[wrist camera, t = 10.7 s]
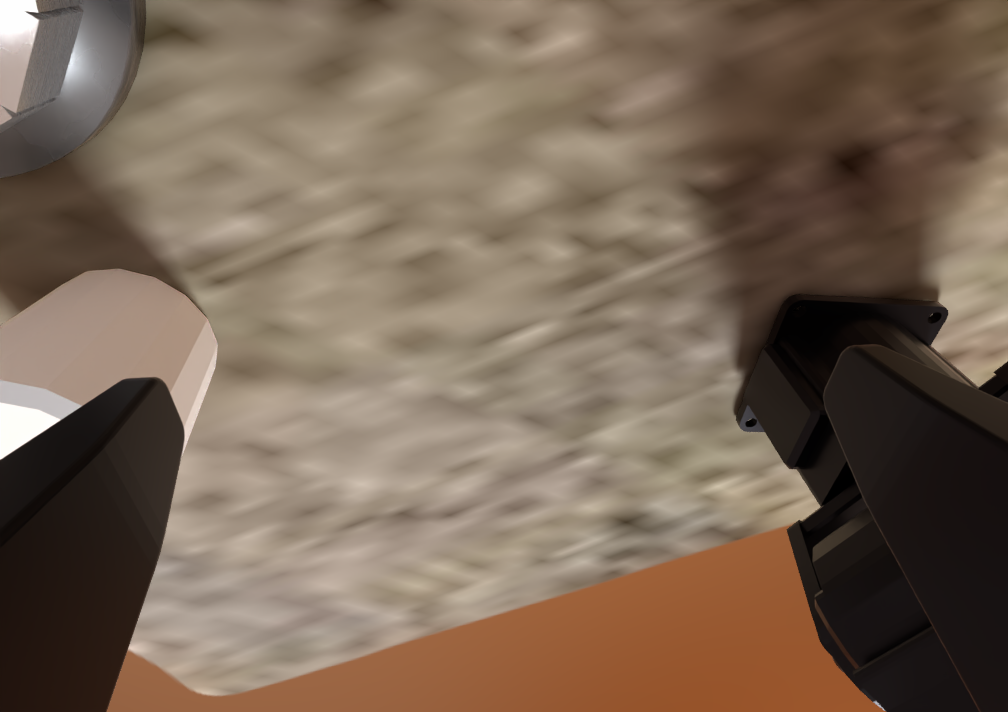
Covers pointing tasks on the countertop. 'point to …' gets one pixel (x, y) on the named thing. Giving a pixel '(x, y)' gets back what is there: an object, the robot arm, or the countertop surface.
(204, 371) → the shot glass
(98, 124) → the collar
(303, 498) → the countertop surface
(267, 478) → the countertop surface
